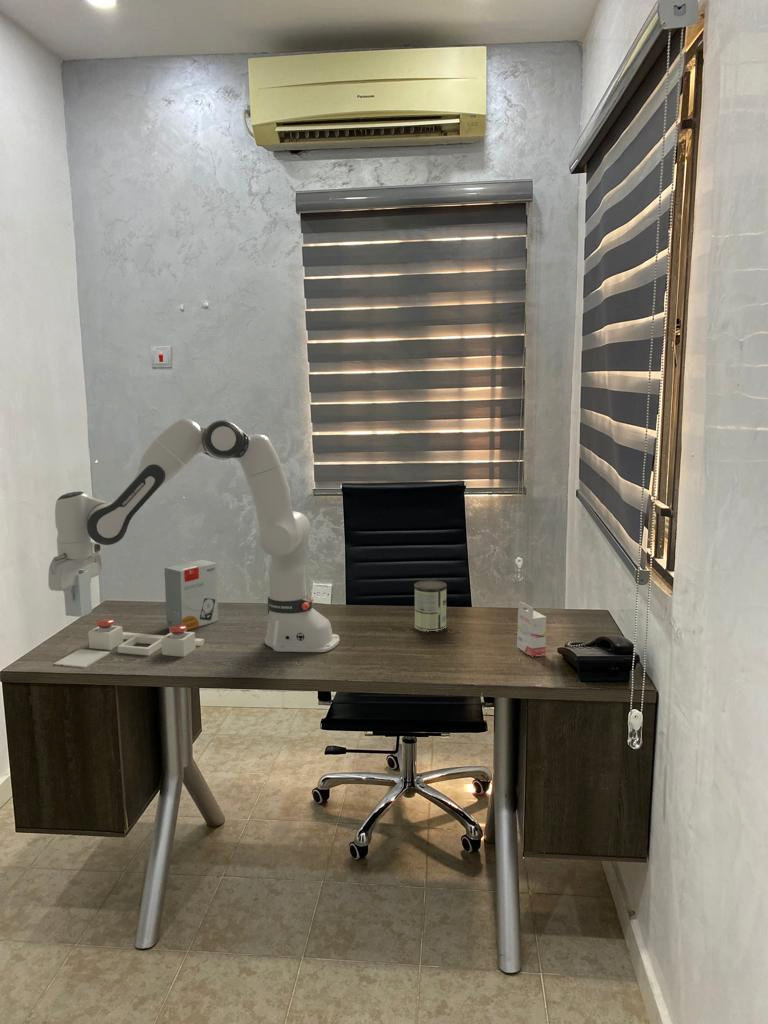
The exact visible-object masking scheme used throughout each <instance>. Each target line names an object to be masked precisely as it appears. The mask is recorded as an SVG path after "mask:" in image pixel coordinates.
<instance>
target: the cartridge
mask: <svg viewBox="0 0 768 1024" xmlns="http://www.w3.org/2000/svg"><path fill="white" fill-rule="evenodd" d="M76 578H77V584H76V585H74V586H72V590H71V592H72V594H75V600H74V601H72V602H67V600H66V595H65V593H64V592H63V595H64V610H65V616H67V617H80V618H82V617H84V616H86V615H89V614H90V613H92V612H93V608H92V607H93V606H92V605H93V604H92V593H91V592H92V591H91V583H90V573H89V571H84V569H81V570H79V574H78V575H76Z"/></svg>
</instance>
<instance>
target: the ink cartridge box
mask: <svg viewBox="0 0 768 1024" xmlns="http://www.w3.org/2000/svg"><path fill="white" fill-rule="evenodd" d="M518 602H519V603H518V611H517V638H516V648H517V647H518V648H520V649H521V650H523V651H525V652H526V653H528V654H530V655H531V656H536V655H542V654H545V655H546V650H547V649H546V648H547V647H546V645H547V616H546V615H544V614H542V613H540V612H538V611H536V610H534V607H532V606H531V605H528V604H527V603H524V602H522V601H521V600H520V601H518Z"/></svg>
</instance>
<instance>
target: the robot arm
mask: <svg viewBox="0 0 768 1024" xmlns="http://www.w3.org/2000/svg"><path fill="white" fill-rule="evenodd" d="M201 453H202V454H205V455H207V456H209V457H210V458H212V459H215V460H221V461H225V460H229V459H235V460H237V461H238V462H239V464H240V466H241V468H242V471H243V473H244V477H245V479H246V482H247V485H248V488H249V491H250V493H251V496H252V499H253V502H254V505H255V510H256V517H257V522H258V523H257V524H258V530H259V544H260V548H261V550H263V552H264V553H266V554H267V555H269V556H270V564H269V567H268V572H267V575H268V576H267V577H268V596H267V614H268V624H267V631H266V635H265V639H264V643H265V645H267V646H268V647H269V648H272V649H273V651H274V652H282V653H283V652H287V653H289V652H293V653H295V652H296V653H326V652H329V651H331V650H333V649H335V648H336V647H337V646H338V645H339V643H340V636H339V634H335V633H333V629H332V626H331V622H330V620H329V619H328V618H326V617H325V616H324V615H322V614H321V613H320V612H319V611H317V610H316V609H314V608H313V602H314V597H311V598H310V597H309V596H308V595H307V587H306V586H307V584H306V577H307V576H306V575H307V574H306V571H307V560H308V550H309V542H310V541H309V539H310V531H311V523H310V520H309V518H308V517H307V516H306V515H305V514H304V513H302V512H299V511H293V506H292V500H291V487H290V485H289V483H288V479H287V477H286V473H285V472H284V468H283V466H282V462H281V460H280V457H279V455H278V453H277V451H276V449H275V447H274V445H273V443H272V442H271V440H270V439H269V437H268V436H266V435H264V434H261V433H260V434H257V433H255V434H250V435H248V434H247V433H246V432H244V431H243V430H242V429H241V428H240V427H239V426H237V425H236V424H235V423H234V422H232V421H228V420H223V419H222V420H217V421H214V422H211V424H210V425H208V426H201V425H199V423H197V422H196V421H194V420H192V419H190V418H185V417H184V418H180V419H178V420H177V421H175V422H174V423H172V424H171V425H170V426H168V427H167V428H165V430H164V431H162V432H161V433H160V434H159V435H158V436H157V437H156V438H155V439H154V440H153V442H151V443H150V445H149V446H148V448H147V449H146V451H144V453H143V454H142V456H141V459H140V461H139V462H140V463H139V466H138V467H139V468H138V470H137V472H136V475H135V477H134V479H133V480H132V481H131V483H129V485H127V487H126V488H125V489H124V490H123V491H122V492H121V493H120V494H119V496H118V497H117V498H116V499H115V500H114V501H112V502H110V501H106V500H102V499H98V498H95V497H93V496H91V495H89V494H87V493H86V492H84V491H73V492H68V493H64V494H62V495H61V496H59V497H58V499H56V502H55V508H54V518H55V520H54V522H55V528H56V530H57V531H56V532H57V537H56V547H57V556H54V557H53V558H52V560H51V562H50V563H49V566H48V579H47V580H48V581H47V583H48V588H49V590H51V591H52V592H53V591H56V592H61V591H62V592H63V594H64V593H65V595H66V600H67V602H72V601H74V600H75V594H72V592H71V590H72V586H74V585H76V584H77V578H76V575H78V574H79V570H81V569H84V571H89V573H90V584H91V583H92V578H94V577H97V576H100V575H102V574H103V573H102V572H103V568H104V565H103V555H102V552H101V551H102V550H103V546H110V545H111V546H112V545H114V544H116V543H118V542H120V541H121V540H122V539H124V537H125V535H126V533H127V530H128V527H129V524H130V522H131V520H132V518H133V517H134V516H135V514H136V513H137V512H138V511H139V510H141V508H142V507H143V505H144V504H145V503H146V502H147V501H148V500H149V499H150V498H151V497H152V496H153V494H154V493H155V492H157V491H158V490H159V489H160V488H162V486H165V484H166V483H167V482H169V481H170V480H171V479H172V478H174V477H175V476H177V474H179V473H180V472H181V471H182V470H183V469H184V468H185V466H186V465H188V463H189V462H190V461H191V460H192V459H193V458H194V457H196V455H198V454H201Z"/></svg>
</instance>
